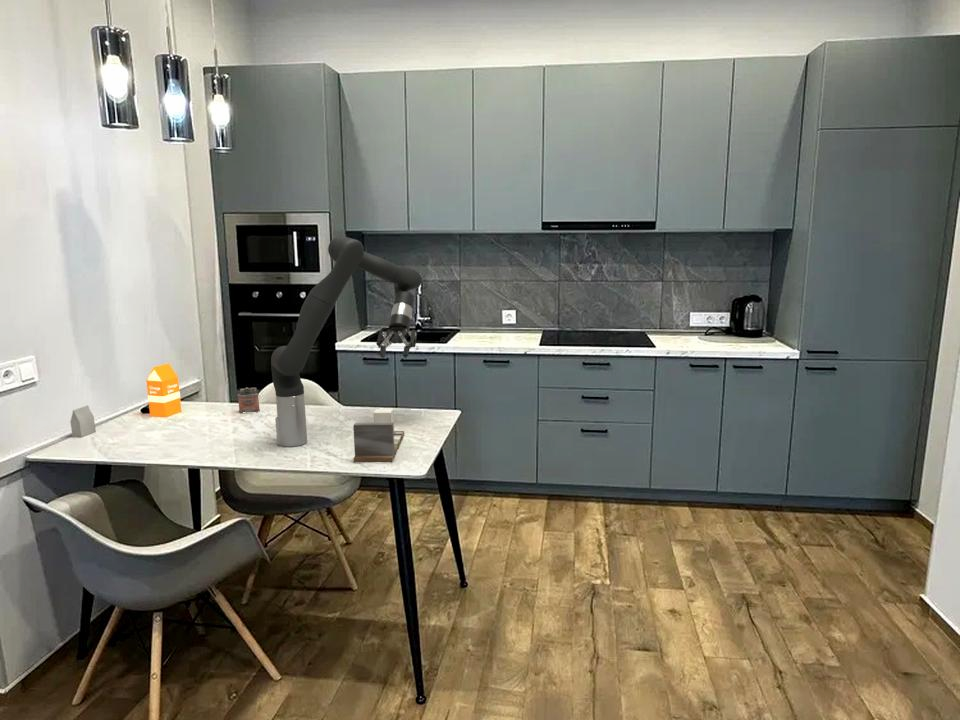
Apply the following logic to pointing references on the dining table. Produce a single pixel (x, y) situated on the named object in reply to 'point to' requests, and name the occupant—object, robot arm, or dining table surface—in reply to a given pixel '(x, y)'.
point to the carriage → (384, 416)
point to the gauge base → (376, 441)
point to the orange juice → (163, 391)
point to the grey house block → (82, 422)
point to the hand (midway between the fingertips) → (393, 357)
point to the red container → (248, 400)
